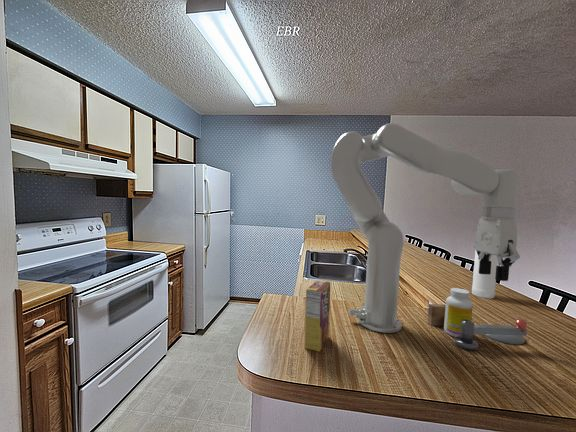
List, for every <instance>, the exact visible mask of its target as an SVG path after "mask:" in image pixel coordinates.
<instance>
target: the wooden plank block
mask: <svg viewBox="0 0 576 432" xmlns="http://www.w3.org/2000/svg"><path fill="white" fill-rule="evenodd" d="M445 307H446V304H440V303H439V304H438V303H429V304H428V308H427V309H428V312H427V314H428V315H427V324H428V325H430V326H433V327H435V326H436V327H439V326H440V327H444V320H445Z"/></svg>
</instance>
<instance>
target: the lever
mask: <svg viewBox="0 0 576 432" xmlns="http://www.w3.org/2000/svg"><path fill="white" fill-rule="evenodd" d="M527 325H528V321H527V320H525V319H522V318H516V319H515V325H495V324H490V325H482V324H475V321H473V320H472V321H471V320H467V319H462V324H461V336H458V337H455V338H454V344H455V345H456V346H458V347H459V348H462V349H464V350H468V351H477V350H478V349H479V343H478V342H477V341H476V340H474V335H482V334H487V335H522V336H523V337H525V336H526V337H527V335H528V334H527V333H528V328H527Z"/></svg>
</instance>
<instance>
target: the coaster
mask: <svg viewBox="0 0 576 432" xmlns="http://www.w3.org/2000/svg"><path fill="white" fill-rule="evenodd" d="M481 325H491V324H489V323H485V324H483V323H482V324H481ZM481 335H483V336H484V337H486V338H488V339H490V340H493V341H496V342H500V343H503V344H508V345H524V343H525V341H526V339H525V336H524V335H487V334H481Z"/></svg>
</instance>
